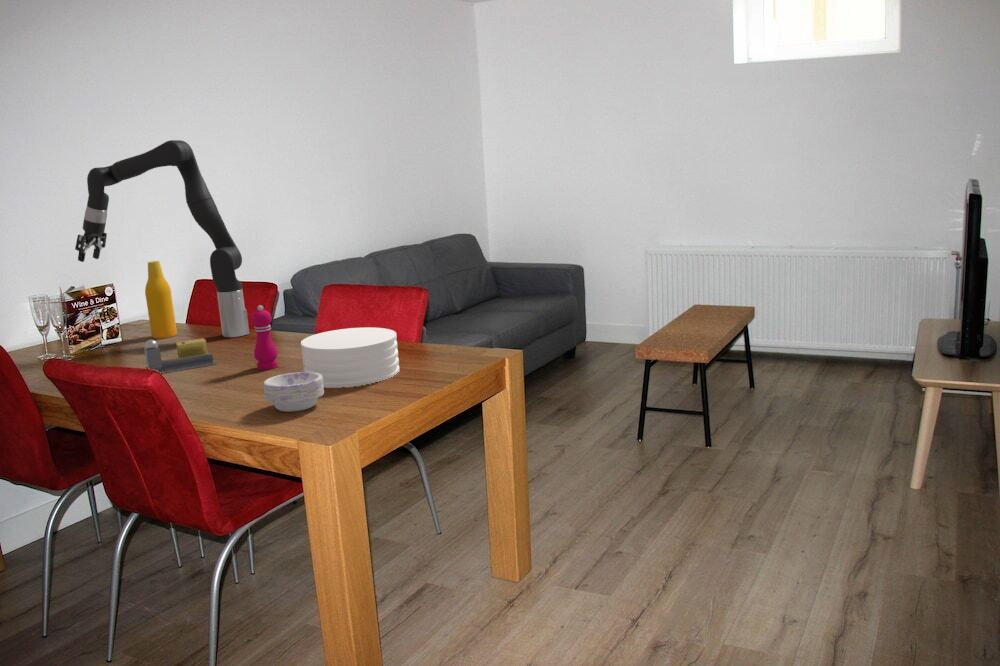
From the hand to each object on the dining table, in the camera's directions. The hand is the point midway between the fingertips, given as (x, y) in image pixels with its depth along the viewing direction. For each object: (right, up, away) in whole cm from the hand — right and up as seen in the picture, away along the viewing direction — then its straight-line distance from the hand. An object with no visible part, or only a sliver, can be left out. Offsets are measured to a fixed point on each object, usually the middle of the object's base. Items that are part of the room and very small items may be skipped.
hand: (88, 259), depth 325 cm
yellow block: (+53, -36, -35) cm, 73 cm away
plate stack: (+113, -41, -71) cm, 140 cm away
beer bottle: (+28, -29, +3) cm, 41 cm away
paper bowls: (+103, -48, -100) cm, 152 cm away
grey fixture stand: (+53, -39, -47) cm, 81 cm away
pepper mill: (+84, -39, -56) cm, 108 cm away
